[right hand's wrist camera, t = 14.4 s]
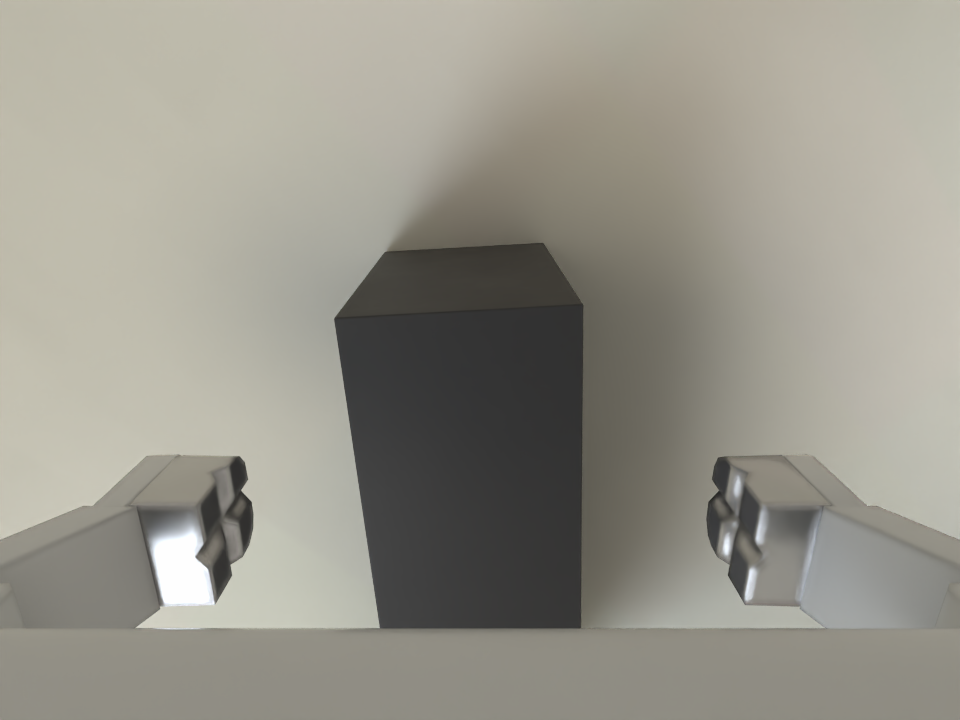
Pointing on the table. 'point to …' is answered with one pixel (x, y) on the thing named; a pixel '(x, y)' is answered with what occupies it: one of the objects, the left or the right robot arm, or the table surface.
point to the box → (468, 435)
